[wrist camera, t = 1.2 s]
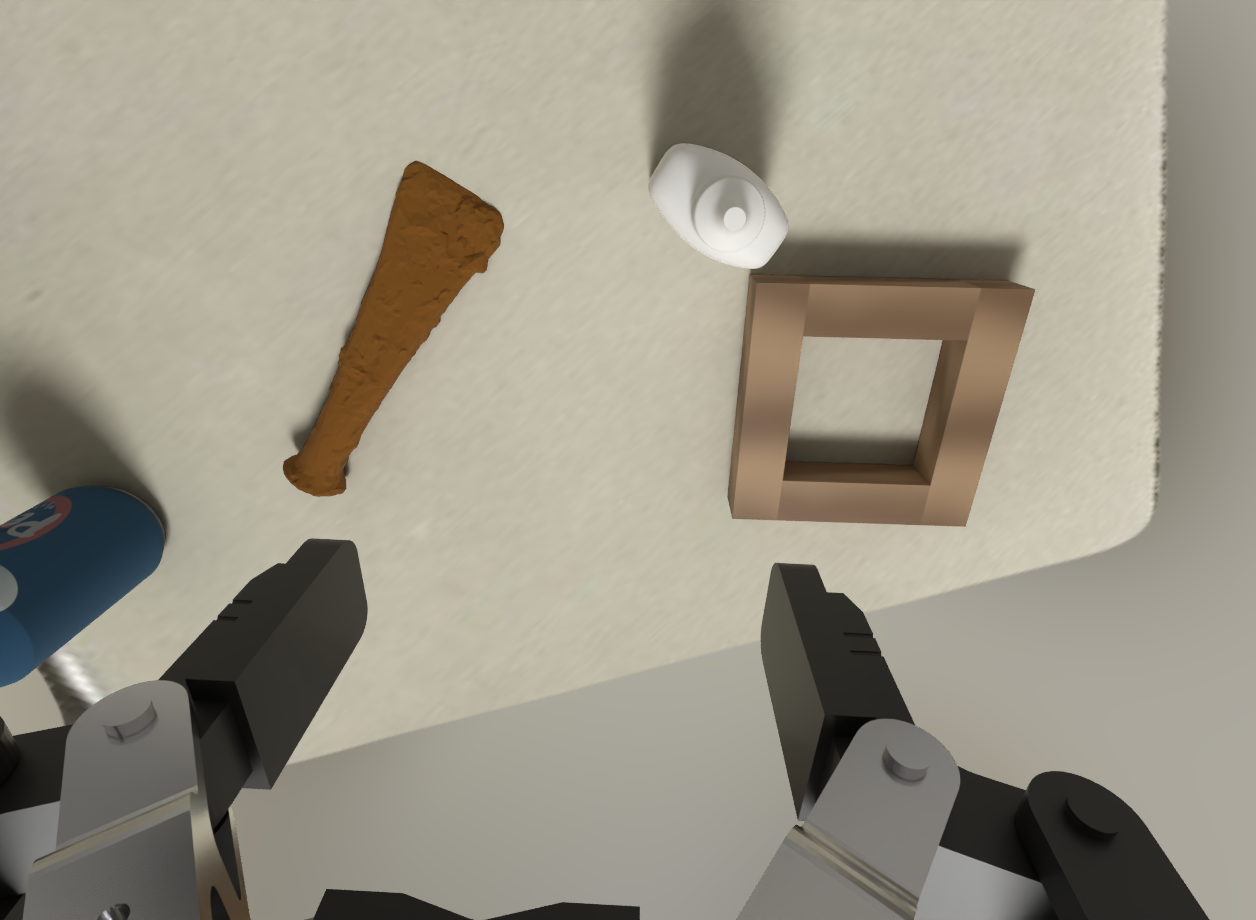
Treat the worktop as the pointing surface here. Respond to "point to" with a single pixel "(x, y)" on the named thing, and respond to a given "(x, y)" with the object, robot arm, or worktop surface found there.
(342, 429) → the primitive tool
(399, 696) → the worktop surface
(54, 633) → the soda can
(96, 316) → the worktop surface
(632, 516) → the worktop surface
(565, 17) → the worktop surface
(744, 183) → the eye dropper bottle
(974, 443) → the walnut collar
